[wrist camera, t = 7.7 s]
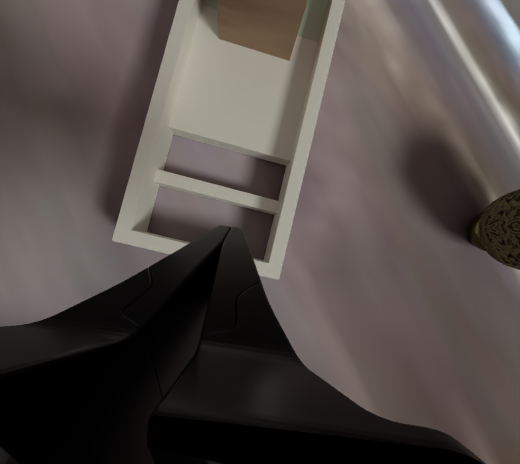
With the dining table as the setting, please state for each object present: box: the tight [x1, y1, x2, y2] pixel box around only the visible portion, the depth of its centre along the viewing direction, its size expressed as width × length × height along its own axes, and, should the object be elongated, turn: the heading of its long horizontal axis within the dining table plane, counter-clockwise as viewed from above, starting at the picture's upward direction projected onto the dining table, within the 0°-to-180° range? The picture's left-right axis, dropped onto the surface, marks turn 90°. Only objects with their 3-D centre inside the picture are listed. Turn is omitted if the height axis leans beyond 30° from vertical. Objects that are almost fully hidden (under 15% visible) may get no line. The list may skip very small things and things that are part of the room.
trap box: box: [112, 0, 345, 280], centre depth 21 cm, size 32×12×4 cm, turn 166°
